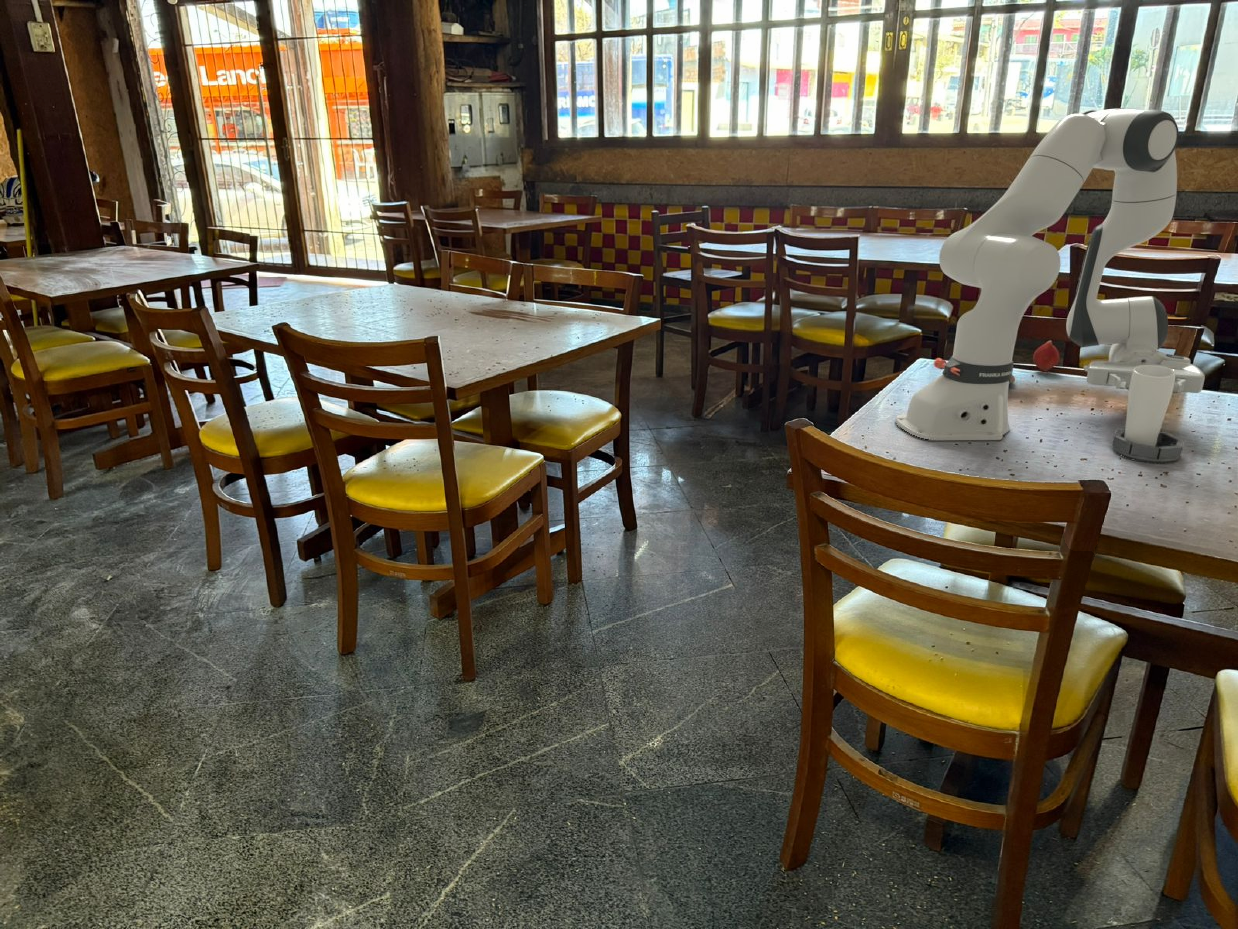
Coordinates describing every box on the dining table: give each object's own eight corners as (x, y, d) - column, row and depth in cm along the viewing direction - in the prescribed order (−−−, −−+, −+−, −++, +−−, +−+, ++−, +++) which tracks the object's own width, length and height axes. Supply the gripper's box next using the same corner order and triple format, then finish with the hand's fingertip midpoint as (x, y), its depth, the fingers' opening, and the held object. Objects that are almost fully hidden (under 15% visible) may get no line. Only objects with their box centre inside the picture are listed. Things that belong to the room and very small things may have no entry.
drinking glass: (1158, 455, 154) (1174, 379, 148) (1116, 449, 158) (1130, 374, 152) (1161, 441, 159) (1178, 367, 153) (1121, 435, 163) (1135, 362, 156)
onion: (1027, 371, 211) (1033, 340, 209) (1035, 367, 215) (1040, 336, 212) (1052, 376, 208) (1058, 344, 205) (1059, 371, 212) (1065, 340, 209)
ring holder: (1140, 465, 153) (1144, 450, 152) (1099, 445, 163) (1102, 430, 162) (1194, 461, 154) (1198, 446, 153) (1149, 441, 164) (1152, 426, 163)
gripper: (1085, 350, 178) (1092, 366, 166) (1198, 358, 171) (1213, 376, 159) (1080, 379, 181) (1086, 397, 169) (1191, 388, 173) (1205, 407, 161)
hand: (1148, 387), depth 164 cm, fingers open, 8 cm apart
